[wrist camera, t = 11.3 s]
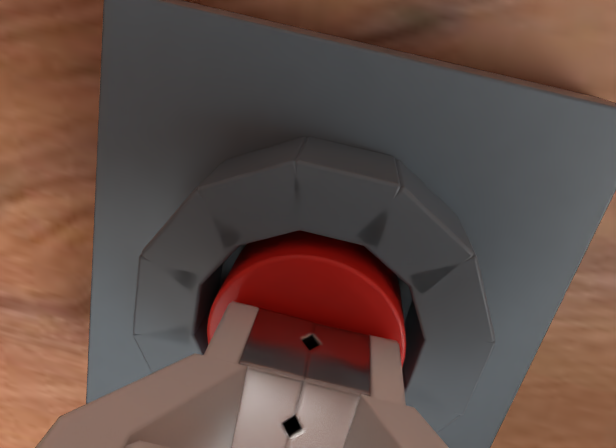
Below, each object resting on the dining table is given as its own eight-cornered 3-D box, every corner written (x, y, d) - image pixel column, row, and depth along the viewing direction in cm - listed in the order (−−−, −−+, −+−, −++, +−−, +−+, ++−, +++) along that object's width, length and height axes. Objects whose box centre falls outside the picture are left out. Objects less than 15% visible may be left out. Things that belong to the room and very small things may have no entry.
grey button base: (151, -7, 11) (42, -20, 7) (599, 97, 11) (721, 137, 7) (123, 354, 15) (43, 464, 11) (450, 435, 15) (478, 575, 11)
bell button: (244, 198, 10) (220, 233, 8) (422, 241, 10) (433, 285, 8) (219, 344, 11) (194, 398, 10) (374, 383, 11) (376, 444, 10)
